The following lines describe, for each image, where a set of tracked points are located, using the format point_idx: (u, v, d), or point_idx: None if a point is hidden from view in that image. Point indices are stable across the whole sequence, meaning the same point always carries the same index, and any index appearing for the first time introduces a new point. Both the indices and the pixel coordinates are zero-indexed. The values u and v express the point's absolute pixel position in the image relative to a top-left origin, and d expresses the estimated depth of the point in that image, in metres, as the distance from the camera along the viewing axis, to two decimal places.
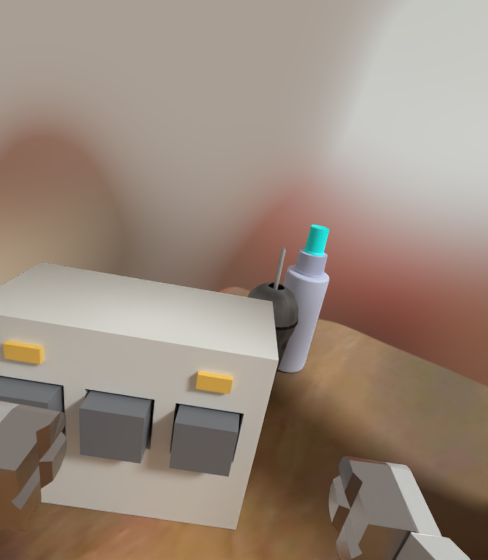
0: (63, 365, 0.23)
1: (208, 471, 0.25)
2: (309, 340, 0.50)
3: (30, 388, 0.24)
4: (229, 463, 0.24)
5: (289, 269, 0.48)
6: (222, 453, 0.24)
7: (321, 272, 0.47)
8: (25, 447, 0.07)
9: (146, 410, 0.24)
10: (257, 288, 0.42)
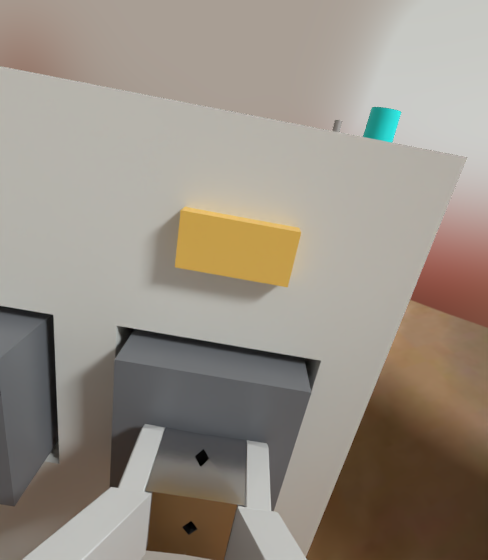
0: None
1: None
2: None
3: None
4: (276, 484, 0.09)
5: None
6: None
7: None
8: (189, 472, 0.07)
9: (18, 342, 0.07)
10: None
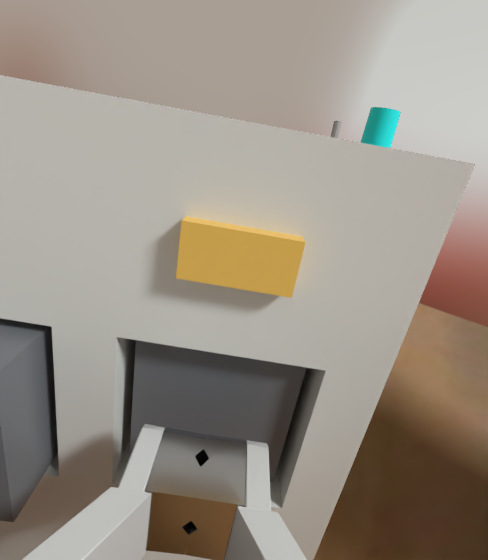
0: None
1: None
2: None
3: None
4: (277, 450, 0.10)
5: None
6: (260, 425, 0.10)
7: None
8: (189, 472, 0.07)
9: (16, 355, 0.07)
10: None
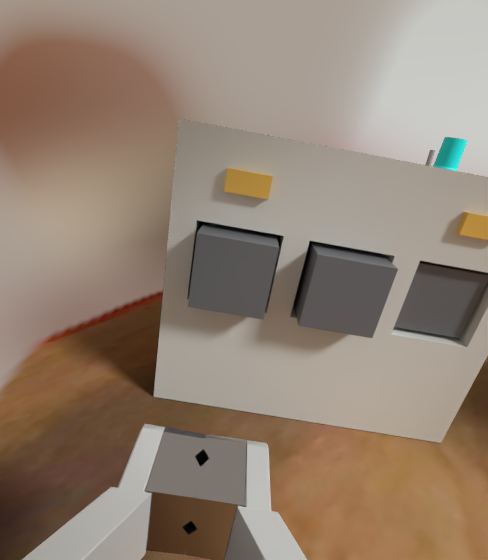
0: (292, 205, 0.19)
1: (438, 331, 0.22)
2: None
3: (246, 236, 0.19)
4: (466, 319, 0.21)
5: None
6: (462, 306, 0.21)
7: None
8: (189, 472, 0.07)
9: (392, 265, 0.19)
10: None
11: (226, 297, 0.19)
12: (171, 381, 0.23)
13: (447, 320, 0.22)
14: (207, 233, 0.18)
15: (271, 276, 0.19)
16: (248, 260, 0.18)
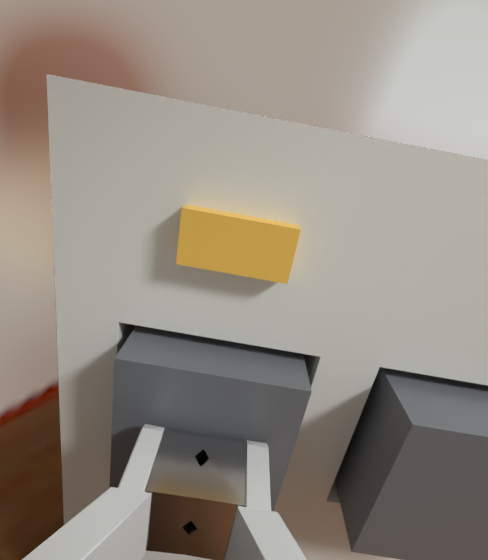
0: (343, 292, 0.08)
1: None
2: None
3: (234, 351, 0.08)
4: None
5: None
6: None
7: None
8: (189, 472, 0.07)
9: None
10: None
11: None
12: None
13: None
14: (142, 355, 0.08)
15: (291, 446, 0.08)
16: (237, 415, 0.08)
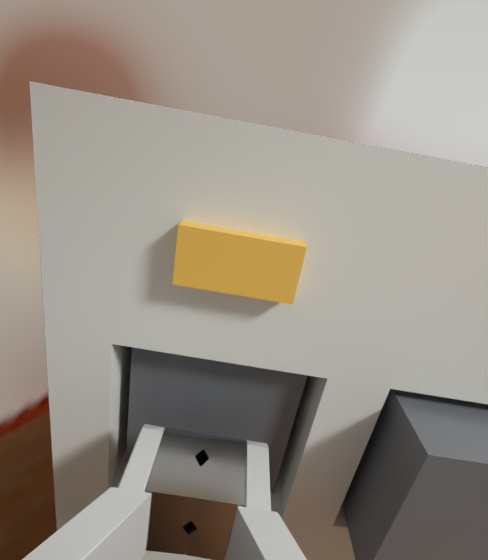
0: (352, 312, 0.07)
1: None
2: None
3: None
4: None
5: None
6: None
7: None
8: (189, 472, 0.07)
9: None
10: None
11: None
12: None
13: None
14: None
15: (290, 423, 0.09)
16: (242, 395, 0.09)
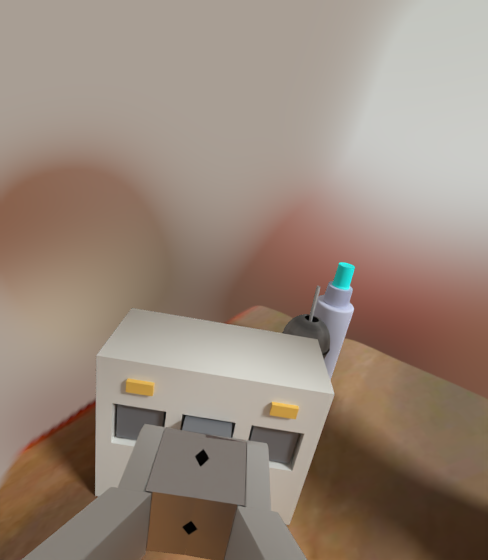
0: (168, 396, 0.31)
1: (275, 459, 0.34)
2: (335, 361, 0.57)
3: None
4: (291, 453, 0.34)
5: (319, 300, 0.55)
6: (286, 446, 0.33)
7: (347, 303, 0.54)
8: (189, 472, 0.07)
9: (230, 431, 0.31)
10: (295, 320, 0.49)
11: (138, 432, 0.33)
12: (106, 487, 0.36)
13: (279, 454, 0.34)
14: None
15: (162, 422, 0.33)
16: (147, 415, 0.32)
